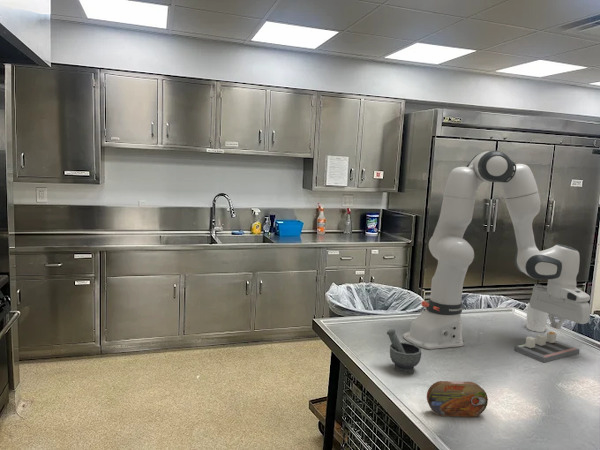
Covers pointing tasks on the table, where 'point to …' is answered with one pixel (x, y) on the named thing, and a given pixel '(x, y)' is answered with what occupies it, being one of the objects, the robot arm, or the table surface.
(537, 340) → the block
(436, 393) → the tin
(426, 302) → the robot arm
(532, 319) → the white cup
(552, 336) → the block
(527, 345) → the block
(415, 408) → the table surface
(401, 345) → the mortar and pestle
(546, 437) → the table surface
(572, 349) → the panel
